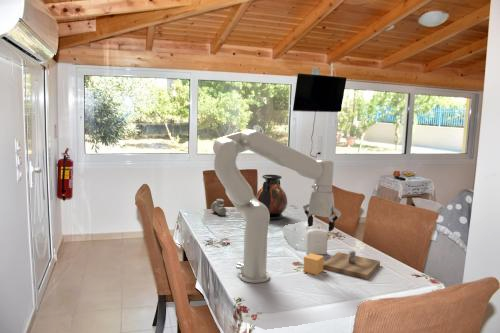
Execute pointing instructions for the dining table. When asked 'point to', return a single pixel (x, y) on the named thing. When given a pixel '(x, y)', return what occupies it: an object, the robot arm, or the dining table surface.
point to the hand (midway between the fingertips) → (320, 228)
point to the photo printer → (316, 241)
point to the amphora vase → (273, 196)
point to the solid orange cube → (313, 264)
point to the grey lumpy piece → (218, 207)
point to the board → (351, 265)
